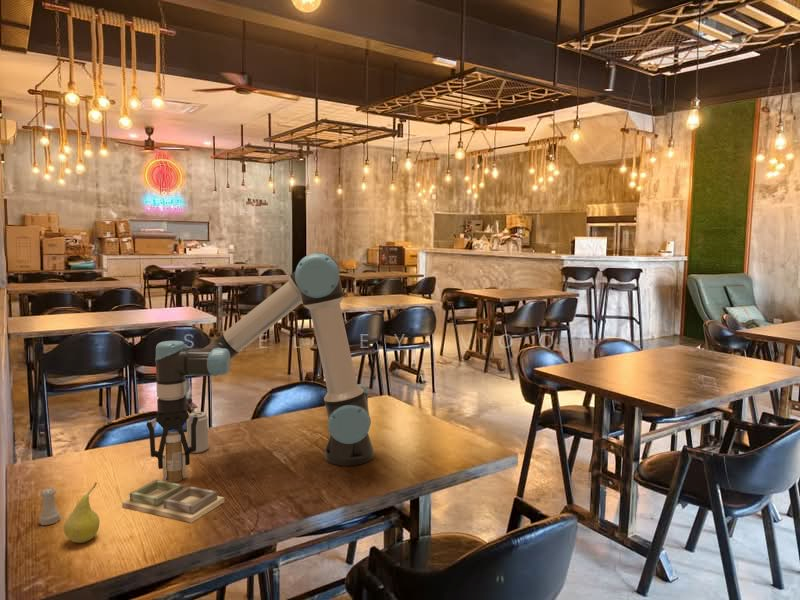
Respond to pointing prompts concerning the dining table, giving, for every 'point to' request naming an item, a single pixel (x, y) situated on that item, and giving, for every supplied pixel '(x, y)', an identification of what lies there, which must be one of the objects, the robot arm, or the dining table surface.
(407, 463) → the dining table surface
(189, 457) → the robot arm
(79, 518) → the fruit
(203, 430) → the beverage can
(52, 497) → the rook chess piece
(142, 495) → the board
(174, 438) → the sprinkles bottle
